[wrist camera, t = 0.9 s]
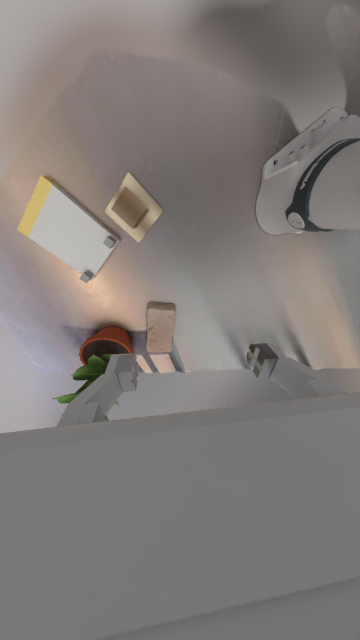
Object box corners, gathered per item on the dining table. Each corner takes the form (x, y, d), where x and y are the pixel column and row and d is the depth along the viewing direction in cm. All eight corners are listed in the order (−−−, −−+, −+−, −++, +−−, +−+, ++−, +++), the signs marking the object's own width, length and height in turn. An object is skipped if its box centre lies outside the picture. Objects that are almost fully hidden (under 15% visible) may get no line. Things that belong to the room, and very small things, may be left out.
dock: (50, 178, 32) (29, 170, 27) (121, 240, 38) (115, 242, 33) (27, 229, 35) (5, 230, 30) (95, 276, 42) (86, 284, 37)
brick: (147, 301, 48) (146, 308, 44) (175, 302, 49) (176, 310, 45) (147, 343, 56) (146, 353, 52) (170, 344, 58) (171, 353, 54)
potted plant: (83, 346, 53) (14, 459, 28) (100, 312, 48) (33, 415, 22) (125, 361, 59) (100, 467, 33) (145, 332, 53) (132, 433, 28)
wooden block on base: (129, 174, 33) (121, 160, 26) (163, 210, 37) (164, 207, 29) (106, 212, 36) (92, 209, 28) (139, 242, 39) (135, 246, 32)
